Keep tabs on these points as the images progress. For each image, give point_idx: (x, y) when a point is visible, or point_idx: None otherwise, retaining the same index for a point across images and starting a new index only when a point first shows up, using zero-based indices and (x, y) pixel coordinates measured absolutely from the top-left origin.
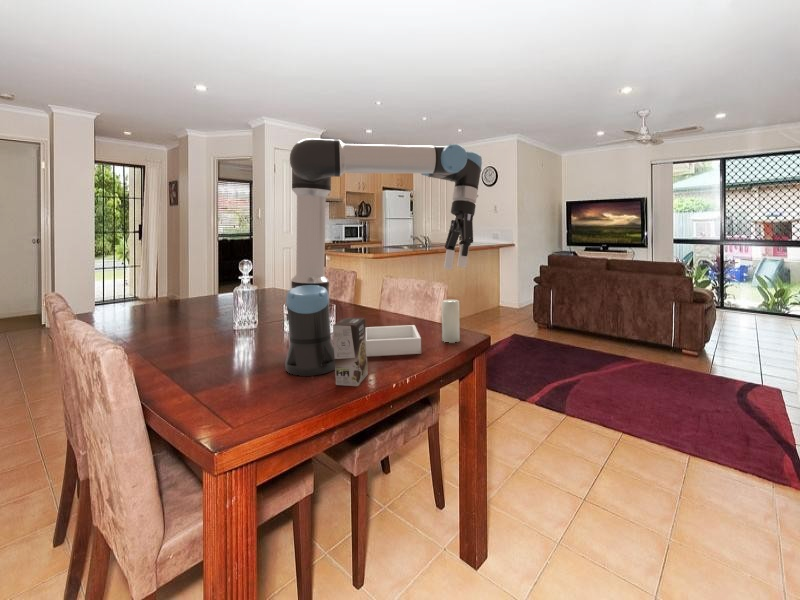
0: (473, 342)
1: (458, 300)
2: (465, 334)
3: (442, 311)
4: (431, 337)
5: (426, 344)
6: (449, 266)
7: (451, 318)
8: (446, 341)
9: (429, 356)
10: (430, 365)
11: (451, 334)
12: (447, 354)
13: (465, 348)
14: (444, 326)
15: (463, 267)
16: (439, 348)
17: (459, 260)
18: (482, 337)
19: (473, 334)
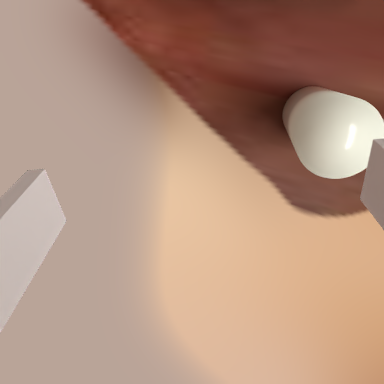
0: (270, 170)
1: (337, 177)
2: None
3: (326, 93)
4: (375, 58)
5: (294, 25)
6: (377, 191)
7: (289, 121)
8: (291, 95)
9: (170, 15)
10: (99, 6)
11: (285, 113)
12: (179, 72)
13: (221, 133)
14: (304, 94)
15: (61, 209)
16: (239, 60)
17: (5, 199)
18: (312, 209)
19: (355, 198)
